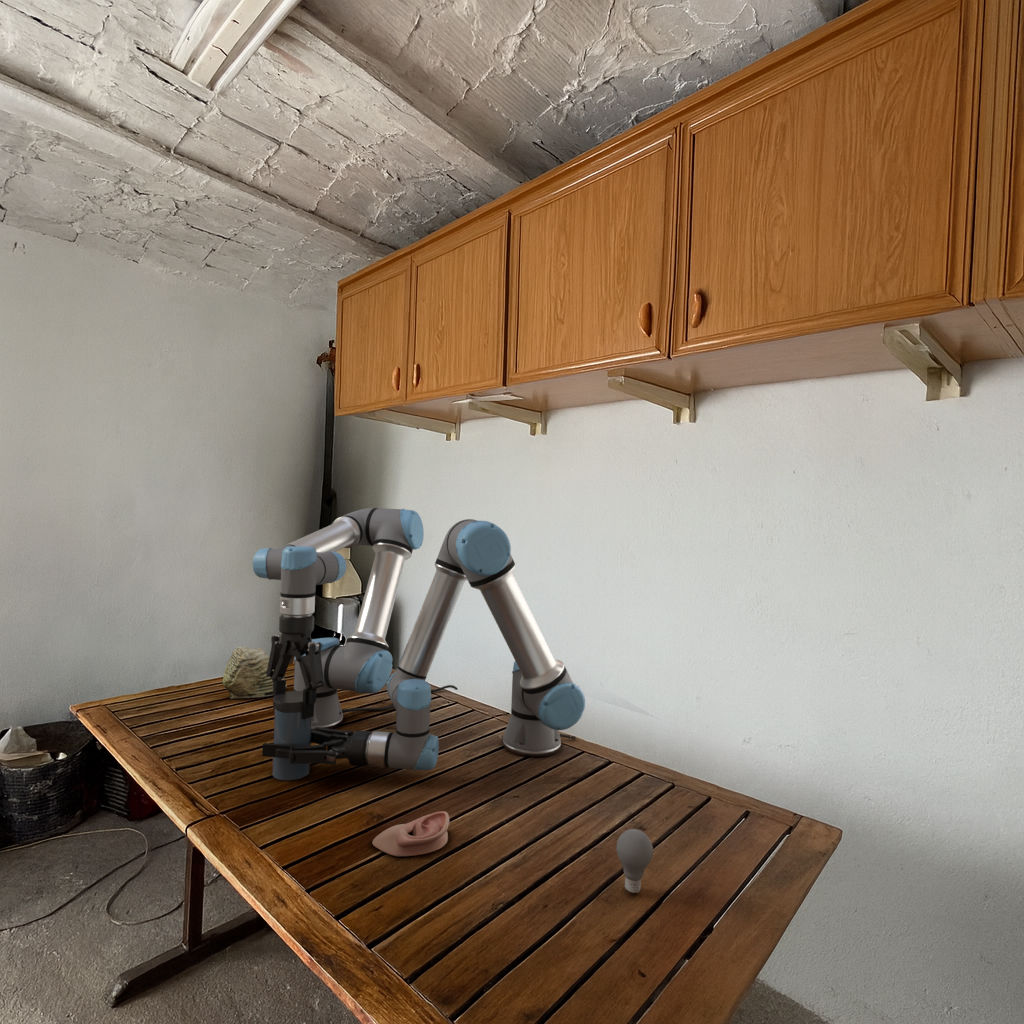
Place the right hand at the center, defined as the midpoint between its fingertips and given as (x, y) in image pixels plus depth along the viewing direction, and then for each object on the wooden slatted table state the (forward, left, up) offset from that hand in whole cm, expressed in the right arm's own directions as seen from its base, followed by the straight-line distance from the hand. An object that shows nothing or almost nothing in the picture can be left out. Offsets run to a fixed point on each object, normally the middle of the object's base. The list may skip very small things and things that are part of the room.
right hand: (272, 742), depth 145 cm
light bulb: (-56, +64, -7) cm, 85 cm away
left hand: (-4, +2, +7) cm, 8 cm away
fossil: (+4, -59, -7) cm, 59 cm away
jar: (-4, +2, -7) cm, 8 cm away
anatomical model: (-24, +39, -7) cm, 46 cm away
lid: (-4, +2, +10) cm, 11 cm away
